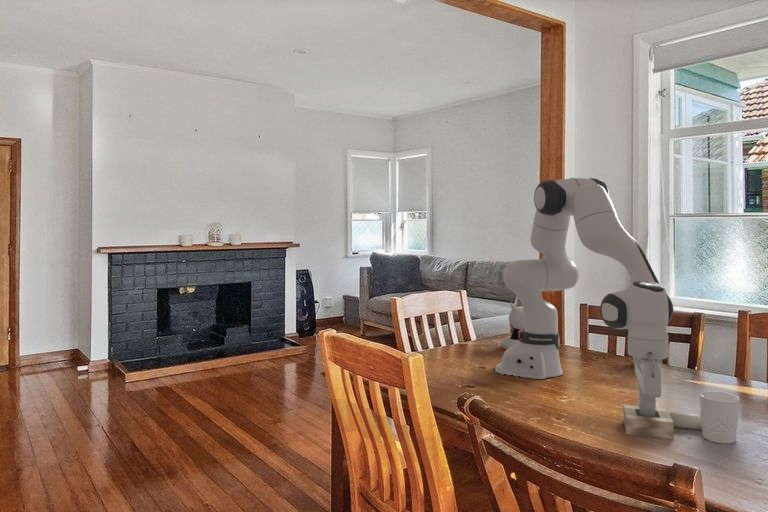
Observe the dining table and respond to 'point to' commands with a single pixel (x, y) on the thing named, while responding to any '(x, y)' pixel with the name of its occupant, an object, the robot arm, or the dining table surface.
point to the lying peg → (686, 420)
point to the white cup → (719, 416)
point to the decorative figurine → (514, 325)
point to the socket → (648, 423)
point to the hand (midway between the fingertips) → (647, 404)
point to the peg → (642, 409)
